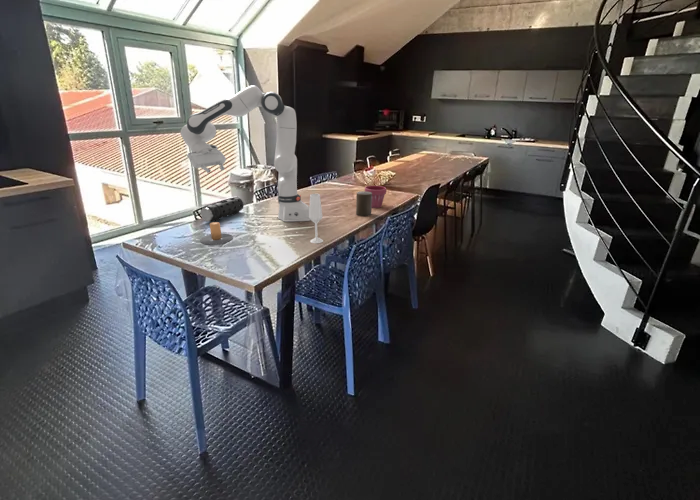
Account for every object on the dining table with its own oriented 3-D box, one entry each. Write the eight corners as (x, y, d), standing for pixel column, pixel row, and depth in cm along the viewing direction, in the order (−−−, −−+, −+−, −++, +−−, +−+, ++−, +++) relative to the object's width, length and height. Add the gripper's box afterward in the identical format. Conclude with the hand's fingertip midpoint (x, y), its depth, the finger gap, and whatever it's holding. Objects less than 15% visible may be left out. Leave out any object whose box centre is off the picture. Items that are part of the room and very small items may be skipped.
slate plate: (237, 234, 202) (237, 233, 202) (225, 245, 187) (225, 244, 187) (209, 233, 204) (209, 232, 204) (194, 244, 189) (194, 243, 189)
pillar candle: (363, 217, 232) (364, 193, 227) (352, 213, 239) (353, 190, 234) (374, 214, 238) (375, 191, 233) (364, 211, 245) (364, 188, 240)
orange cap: (223, 236, 198) (221, 222, 195) (219, 240, 193) (217, 225, 190) (214, 236, 198) (212, 222, 195) (209, 239, 194) (207, 224, 191)
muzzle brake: (244, 213, 242) (243, 197, 238) (213, 225, 219) (210, 207, 215) (233, 211, 246) (231, 195, 242) (200, 223, 222) (198, 206, 219)
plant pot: (389, 205, 259) (389, 186, 254) (379, 210, 248) (380, 190, 243) (371, 202, 266) (371, 184, 261) (360, 207, 255) (360, 188, 250)
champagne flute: (307, 242, 191) (305, 195, 182) (313, 238, 197) (311, 192, 188) (319, 244, 189) (318, 196, 180) (325, 239, 195) (324, 193, 186)
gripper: (187, 149, 197) (202, 169, 196) (218, 145, 213) (232, 164, 212) (183, 157, 201) (198, 177, 200) (214, 153, 217) (228, 171, 216)
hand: (216, 170), depth 206 cm, fingers open, 8 cm apart
